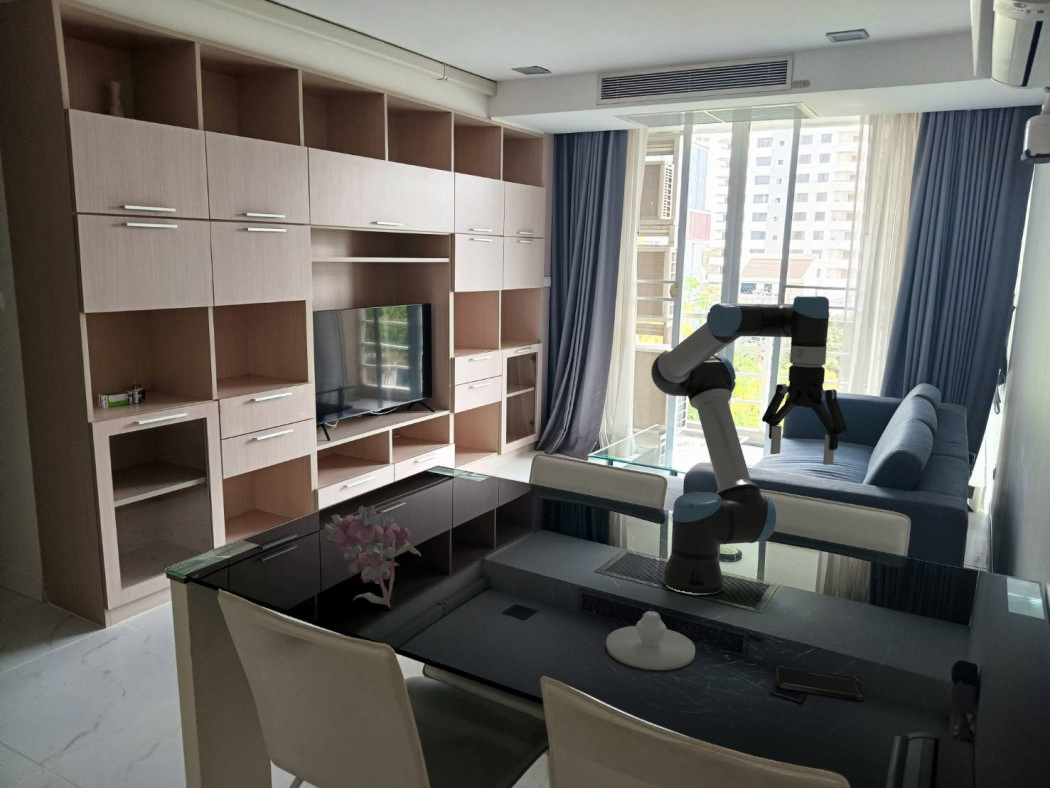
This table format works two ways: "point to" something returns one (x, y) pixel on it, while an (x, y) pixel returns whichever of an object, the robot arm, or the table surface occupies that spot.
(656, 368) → the robot arm
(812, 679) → the phone
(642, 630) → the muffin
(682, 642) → the ceramic plate
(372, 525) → the flower
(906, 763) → the table surface
